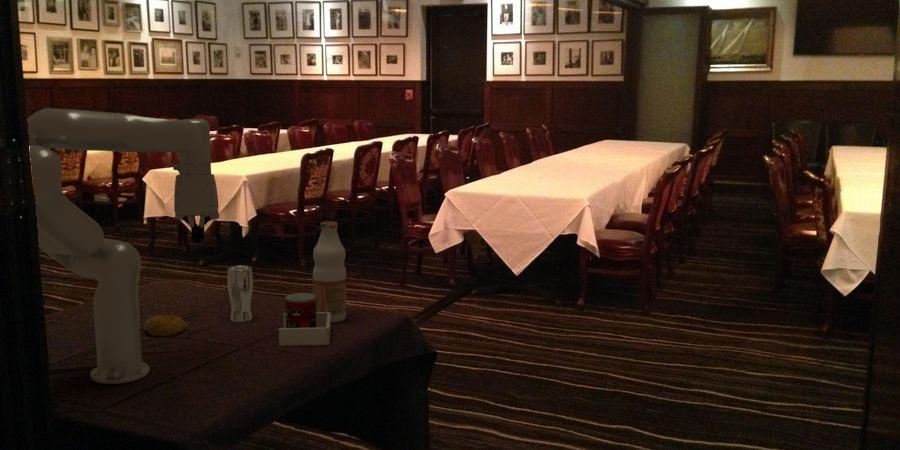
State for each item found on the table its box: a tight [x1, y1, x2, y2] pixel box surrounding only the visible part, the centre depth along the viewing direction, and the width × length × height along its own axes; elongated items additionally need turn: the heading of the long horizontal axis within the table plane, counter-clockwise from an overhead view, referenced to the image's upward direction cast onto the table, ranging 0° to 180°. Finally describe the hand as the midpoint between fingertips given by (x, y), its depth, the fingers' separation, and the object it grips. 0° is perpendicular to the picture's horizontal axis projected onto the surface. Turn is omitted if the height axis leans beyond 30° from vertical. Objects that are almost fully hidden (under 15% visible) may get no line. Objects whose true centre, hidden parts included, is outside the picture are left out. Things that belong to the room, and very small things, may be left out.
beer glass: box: [226, 265, 254, 323], centre depth 232 cm, size 7×7×15 cm
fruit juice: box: [312, 221, 347, 324], centre depth 233 cm, size 9×9×28 cm
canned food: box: [284, 292, 316, 328], centre depth 218 cm, size 8×8×11 cm
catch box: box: [278, 312, 332, 347], centre depth 219 cm, size 15×13×4 cm
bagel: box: [143, 314, 188, 337], centre depth 221 cm, size 10×11×5 cm
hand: (198, 241), depth 206 cm, fingers closed
